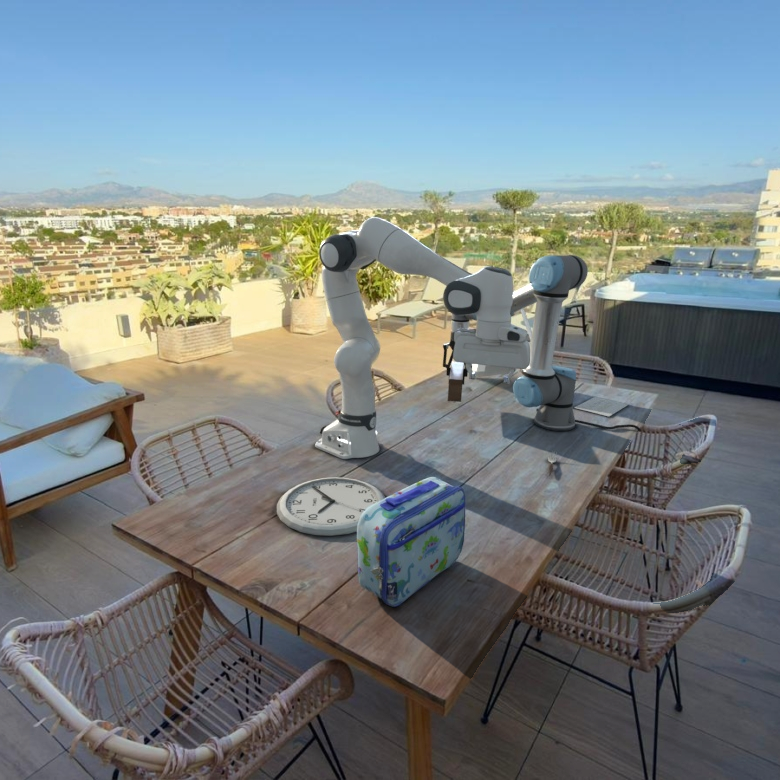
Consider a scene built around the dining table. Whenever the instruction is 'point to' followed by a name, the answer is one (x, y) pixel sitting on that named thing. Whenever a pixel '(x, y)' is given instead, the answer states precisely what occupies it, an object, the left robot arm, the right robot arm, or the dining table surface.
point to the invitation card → (601, 406)
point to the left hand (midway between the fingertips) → (489, 381)
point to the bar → (455, 382)
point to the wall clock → (327, 505)
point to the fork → (551, 462)
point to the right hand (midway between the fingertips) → (456, 383)
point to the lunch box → (410, 539)
